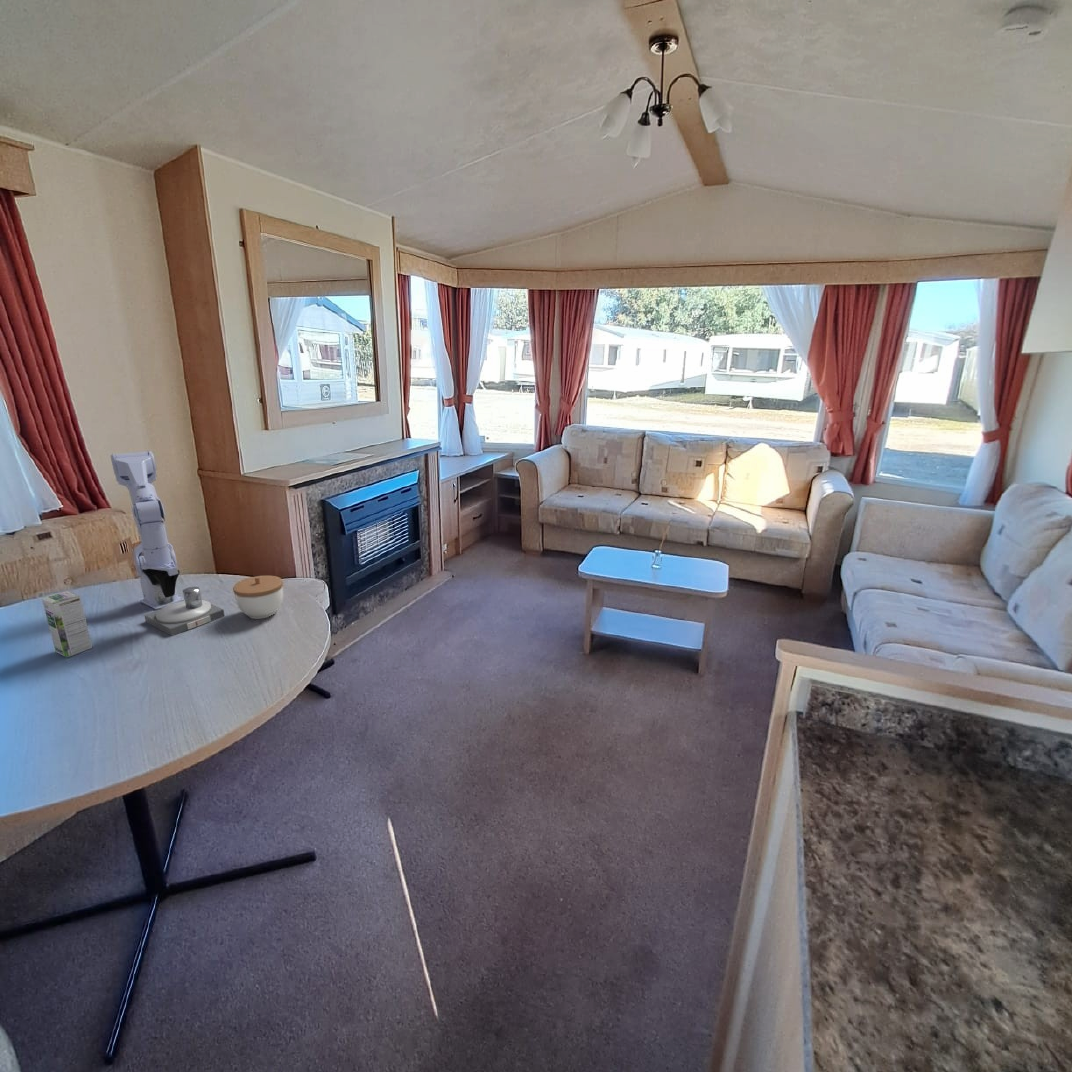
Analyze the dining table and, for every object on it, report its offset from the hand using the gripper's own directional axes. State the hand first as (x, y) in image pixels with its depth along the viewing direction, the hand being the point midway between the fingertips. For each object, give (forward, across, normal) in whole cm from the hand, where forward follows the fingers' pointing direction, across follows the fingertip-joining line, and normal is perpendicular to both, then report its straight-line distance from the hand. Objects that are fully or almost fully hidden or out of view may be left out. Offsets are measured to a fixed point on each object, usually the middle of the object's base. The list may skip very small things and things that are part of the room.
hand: (165, 594), depth 151 cm
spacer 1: (+2, 0, 0) cm, 2 cm away
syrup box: (+9, -5, -20) cm, 23 cm away
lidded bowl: (+9, +14, +18) cm, 24 cm away
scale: (+9, 0, +4) cm, 10 cm away
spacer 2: (+6, 0, +6) cm, 9 cm away
